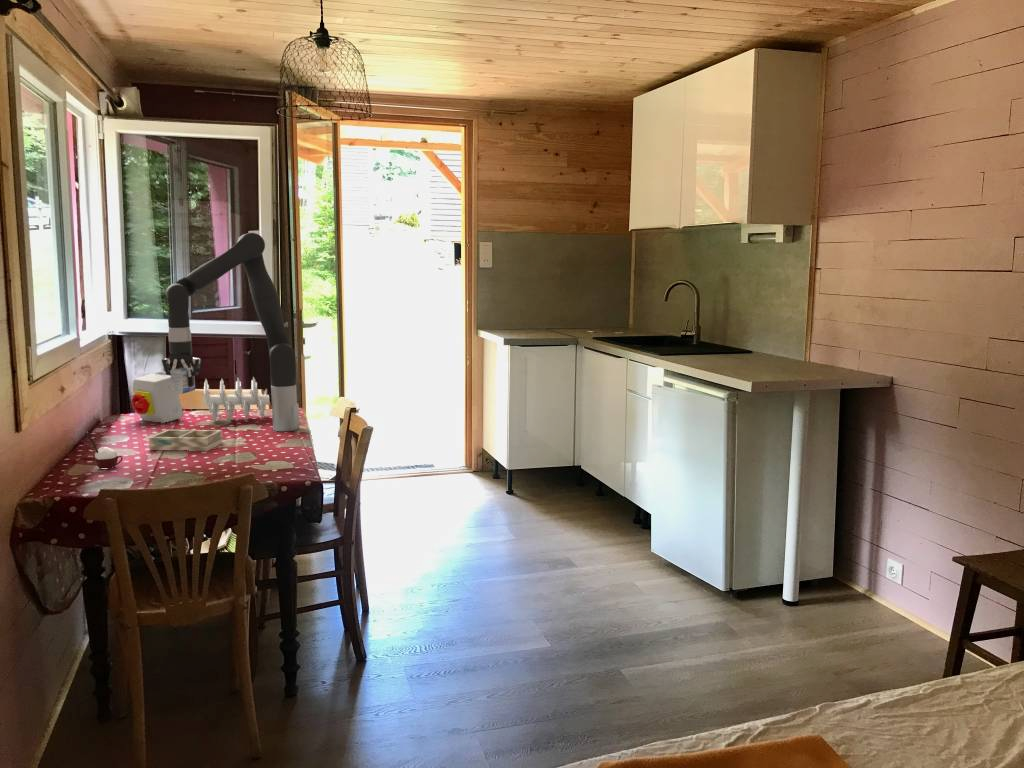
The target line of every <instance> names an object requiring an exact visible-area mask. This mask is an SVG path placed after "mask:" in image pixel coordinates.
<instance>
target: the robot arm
mask: <svg viewBox="0 0 1024 768" xmlns="http://www.w3.org/2000/svg"><path fill="white" fill-rule="evenodd" d="M265 249H266V243H265V240H264V238H263V237H262V236H261V235H260V234H259V233H255V232H247V233H244V234H242V235H241V236H239V237H238V239H237V240H236V243H235V244H234V245H233V246H232V247H230V248H229V249H228V250H226V251H225V252H223V253H222V254H220V255H218V256H216V257H215V258H212V259H211V260H209V261H207V262H205V263H203V264H202V265H200V266H198V267H197V268H196V269H194V270H193V271H191V272H190V273H188V274H187V275H186V276H184V277H182V278H180V279H178V280H177V281H175V282H172V284H170V285H169V286H167V287H166V290H165V294H164V295H165V298H166V299H167V304H168V314H167V323H168V324H167V325H168V345H169V346H168V348H169V357H167V358H162V359H161V363H162V365H163V366H162V367H163V369H164V372H166V375H170V376H171V372H170V370H173V369H178V368H184V369H185V371H186V372H187V374H188V376H189V377H188V386H189V387H193V385H194V378H195V376H196V375H199V373H200V370H201V369H200V368H201V364H202V359H201V358H200V357H194V356H193V345H192V343H193V342H192V332H191V326H190V325H191V323H190V315H189V308H190V307H189V306H190V298H189V297H191V296H193V294H195V293H197V292H200V291H201V290H204V289H206V288H207V287H208V286H210V285H212V283H215V282H216V281H217V280H219V279H220V278H222V277H223V276H224V275H225V274H227V273H228V272H230V271H231V270H233V269H234V268H236V267H238V266H240V265H241V264H243V267H244V270H245V273H246V276H247V281H248V286H249V291H250V294H251V299H252V302H253V305H254V309H255V312H256V315H257V317H258V319H259V322H260V324H261V326H262V329H263V330H264V333H265V337H266V341H267V347H268V352H269V353H268V354H269V355H268V356H269V365H270V366H269V367H270V369H269V370H270V390H271V391H270V395H271V396H270V397H271V413H272V415H271V416H272V430H273V431H274V430H275V432H291V431H296V430H298V429H299V428H300V405H299V403H298V400H297V396H298V395H297V370H296V369H297V368H296V367H297V362H296V361H297V360H296V353H295V350H294V349H293V346H292V345H291V342H290V340H289V338H288V334H287V331H286V329H285V323H284V316H283V310H282V305H281V302H280V298H279V294H278V291H277V289H276V287H275V284H274V282H273V280H272V278H271V277H270V275H269V272H268V270H267V267H266V264H265V260H264V256H263V253H264V251H265ZM192 363H193V365H192ZM171 364H172V367H171ZM192 367H193V368H194V369H193V368H192ZM192 369H193V370H192Z"/></svg>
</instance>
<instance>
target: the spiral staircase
mask: <svg viewBox="0 0 1024 768" xmlns="http://www.w3.org/2000/svg"><path fill="white" fill-rule="evenodd" d="M204 379H205V380H204V383H203V385H204V386H203V405H204V406H207V408H208V410H209V413H210V415H211V419H212V420H213V421H212V423H213V424H214V423H215V422H216V421H217V420H218V418H219V417H218V415H219V412H220V406H223V408H224V410H225V414H226V415H227V419H229V420H228V422H229V423H231V422H232V420H233V418H234V411H235V410H236V409H235V406H240V408H241V409H242V410H243V415H244V420H245V421H247V420H248V419H249V417H250V416H249V415H250V412H251V406H252V405H253V406H256V408H257V410H258V411H259V415H260V420H261V421H262V420H263V419H264V417H265V411H266V405H267V406H268V405H270V394H268V388H265V390H264V392H263V393H264V394H259V389H258V382H257V381H256V378H255V377H254V376H252V379H251V383H250V385H251V388H250V389H249V391H248V394H243V388H242V381H240V379H239V377H237V379H236V381H235V390H234V391H233V393H232V394H227V393H226V385H225V384H224V383H225V382H224V379H223V378H221V380H220V381H219V390H218V392H217V394H211V393H210V385H209V384H208V380H207V378H204ZM262 418H263V419H262ZM246 419H247V420H246Z"/></svg>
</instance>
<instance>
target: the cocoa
mask: <svg viewBox="0 0 1024 768" xmlns="http://www.w3.org/2000/svg"><path fill="white" fill-rule="evenodd" d="M85 433H86V435H87V437H88V439H89V441H90V443H91V445H92V447H93V448H94V450H95V453H94V457H95V458H94V460H95V463H96V466H97V468H98V469H100V468H112V467H114V468H115V467H116V466H118V465H119V464H121V463H122V461H123V459H124V457H123V456H122V455H118V452H117V451H116V450H115V449H113V448H111V447H108V446H103V447H99V448H97V447H96V445H95V442H94V441H93V438H92V437H91V434H90V433H89V432H88V431H86V432H85ZM119 458H120V460H119V461H118V459H119ZM112 469H113V468H112Z"/></svg>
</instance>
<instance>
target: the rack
mask: <svg viewBox="0 0 1024 768" xmlns="http://www.w3.org/2000/svg"><path fill="white" fill-rule="evenodd" d="M148 442H149V443H148V444H149V451H150V450H187V451H186V452H208V451H210V450H212V449H213V448H215V447H217V446H219V445H220V444H223V430H222V429H221V430H220V429H219V430H218V429H217V430H216V429H201V430H200V429H165V430H163V431H162V432H159V433H156V434H154V435H151V436H150V437H148ZM188 450H189V451H188Z"/></svg>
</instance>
